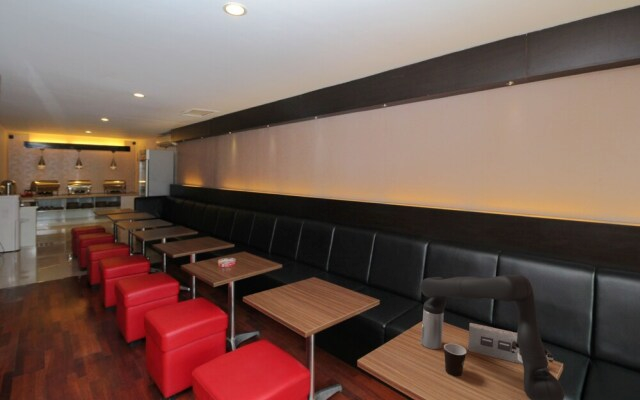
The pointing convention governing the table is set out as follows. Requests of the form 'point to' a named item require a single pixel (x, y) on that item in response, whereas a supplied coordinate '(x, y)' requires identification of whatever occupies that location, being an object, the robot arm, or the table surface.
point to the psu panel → (492, 342)
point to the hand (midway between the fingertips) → (528, 342)
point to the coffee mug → (454, 359)
